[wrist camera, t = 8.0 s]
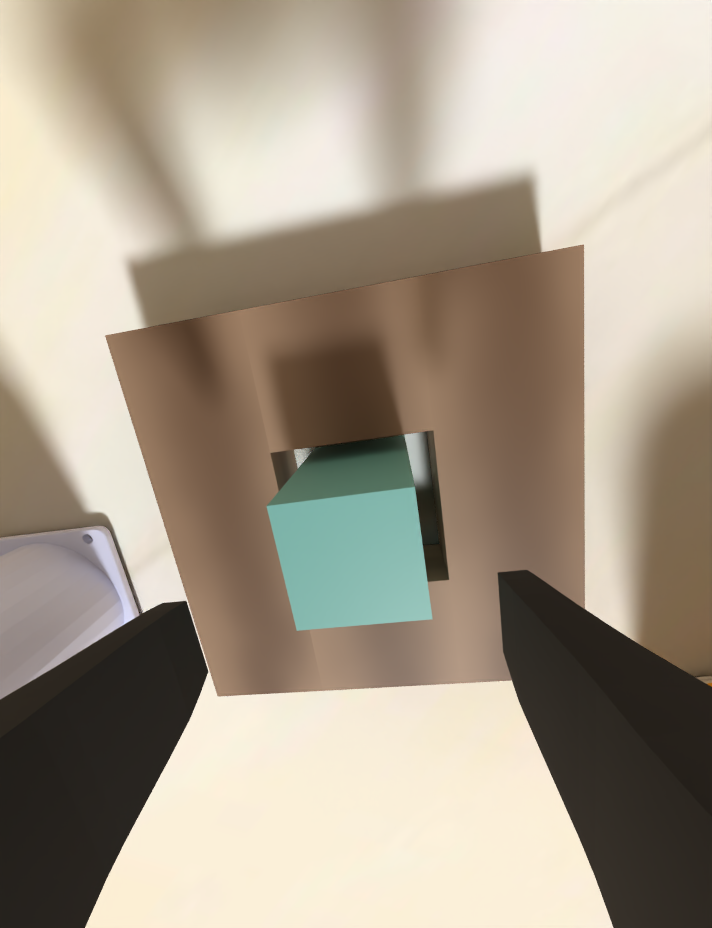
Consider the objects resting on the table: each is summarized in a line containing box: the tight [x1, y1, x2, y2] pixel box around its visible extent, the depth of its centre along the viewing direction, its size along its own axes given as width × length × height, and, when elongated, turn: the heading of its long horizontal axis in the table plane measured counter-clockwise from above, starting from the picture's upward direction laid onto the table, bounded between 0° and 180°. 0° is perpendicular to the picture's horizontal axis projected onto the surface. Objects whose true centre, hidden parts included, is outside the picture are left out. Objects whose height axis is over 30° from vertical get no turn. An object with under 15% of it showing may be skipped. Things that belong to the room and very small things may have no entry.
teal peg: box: [267, 435, 432, 631], centre depth 14 cm, size 4×4×7 cm
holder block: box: [105, 245, 585, 696], centre depth 16 cm, size 16×16×3 cm
